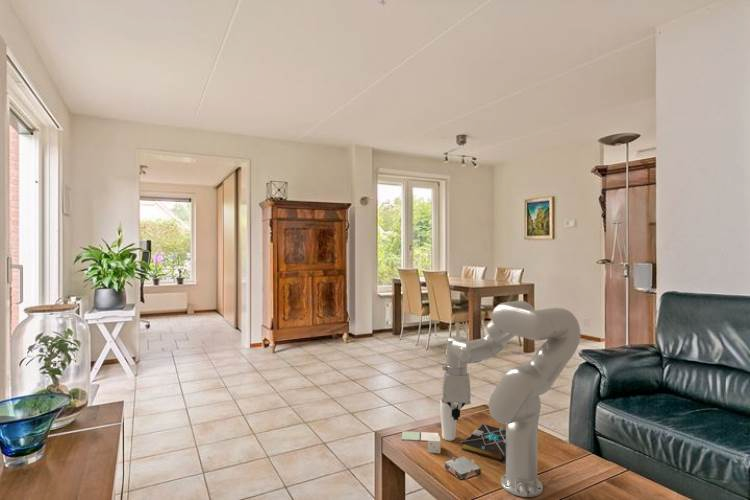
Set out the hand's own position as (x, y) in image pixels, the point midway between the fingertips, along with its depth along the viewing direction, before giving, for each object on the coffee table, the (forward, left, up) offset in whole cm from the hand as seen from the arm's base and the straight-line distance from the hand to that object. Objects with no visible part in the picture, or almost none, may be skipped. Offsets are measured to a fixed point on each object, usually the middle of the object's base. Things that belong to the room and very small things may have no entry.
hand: (455, 418), depth 160 cm
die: (-1, +8, -12) cm, 14 cm away
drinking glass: (+10, +2, -12) cm, 16 cm away
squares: (+10, +13, -12) cm, 20 cm away
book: (+6, -14, -13) cm, 20 cm away
